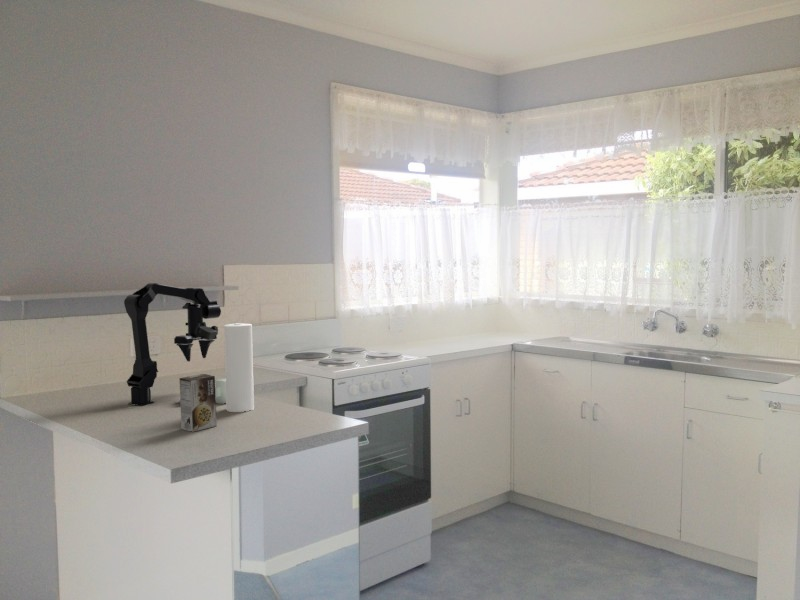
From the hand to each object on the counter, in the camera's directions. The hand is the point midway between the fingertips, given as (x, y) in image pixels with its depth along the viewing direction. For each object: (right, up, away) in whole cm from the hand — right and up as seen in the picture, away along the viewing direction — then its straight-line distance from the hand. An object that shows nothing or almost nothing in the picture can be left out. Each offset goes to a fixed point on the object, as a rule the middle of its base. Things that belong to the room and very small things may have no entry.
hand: (196, 359), depth 283 cm
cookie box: (+17, -17, -56) cm, 61 cm away
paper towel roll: (+24, -15, -30) cm, 41 cm away
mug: (+15, -14, -17) cm, 27 cm away
